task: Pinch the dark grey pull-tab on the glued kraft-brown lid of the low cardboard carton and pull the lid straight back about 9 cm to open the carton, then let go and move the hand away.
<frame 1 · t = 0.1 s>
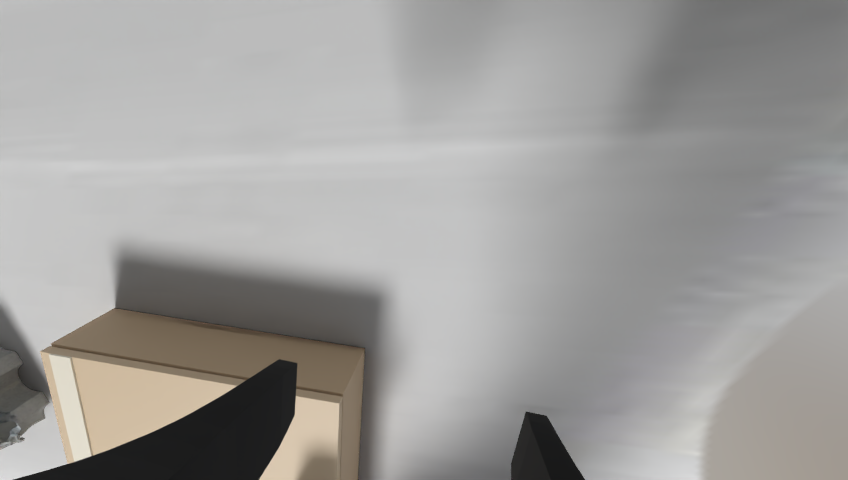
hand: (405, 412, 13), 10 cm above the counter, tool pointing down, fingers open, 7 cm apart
carton: (242, 426, 27), on the counter
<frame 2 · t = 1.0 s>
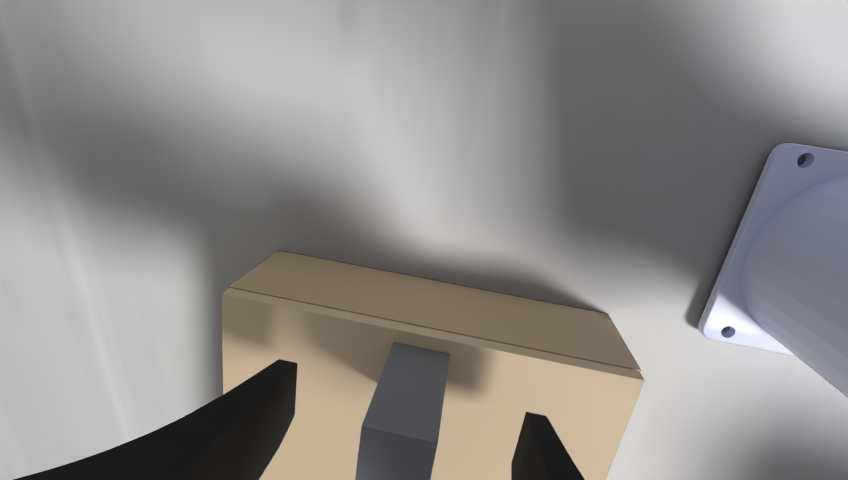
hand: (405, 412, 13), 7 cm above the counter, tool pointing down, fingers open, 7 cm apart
carton: (413, 421, 21), on the counter
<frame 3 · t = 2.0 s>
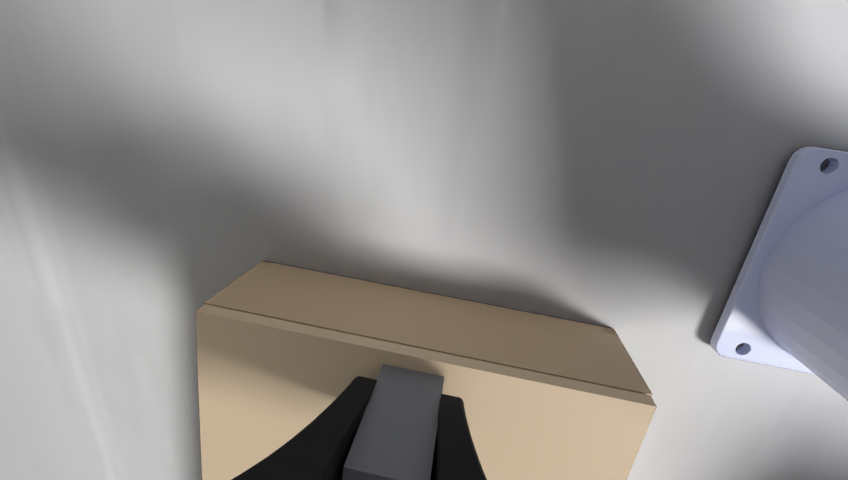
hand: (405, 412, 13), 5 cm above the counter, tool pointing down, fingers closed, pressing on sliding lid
carton: (407, 441, 20), on the counter
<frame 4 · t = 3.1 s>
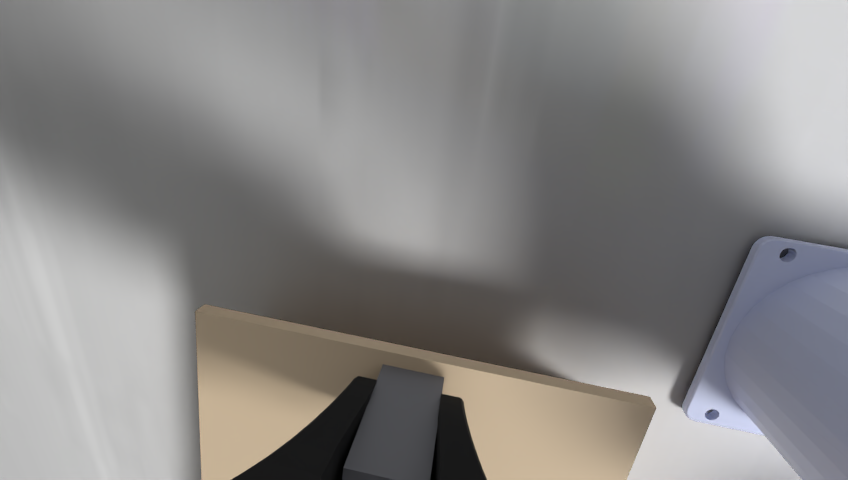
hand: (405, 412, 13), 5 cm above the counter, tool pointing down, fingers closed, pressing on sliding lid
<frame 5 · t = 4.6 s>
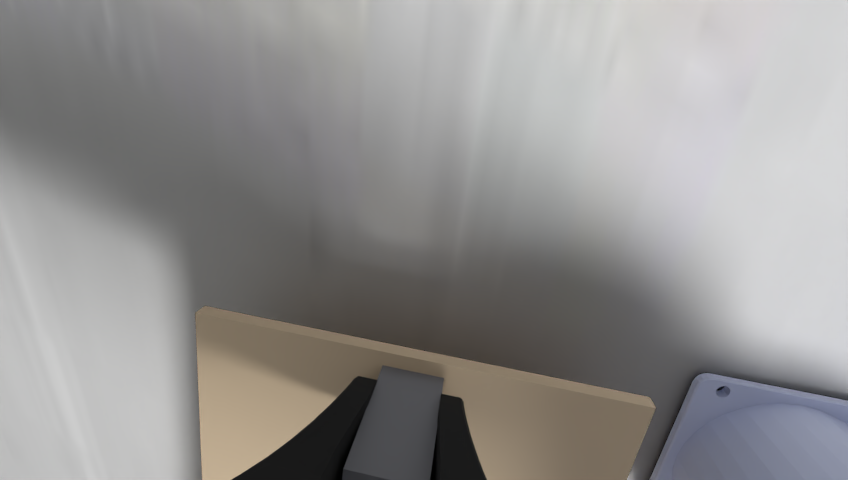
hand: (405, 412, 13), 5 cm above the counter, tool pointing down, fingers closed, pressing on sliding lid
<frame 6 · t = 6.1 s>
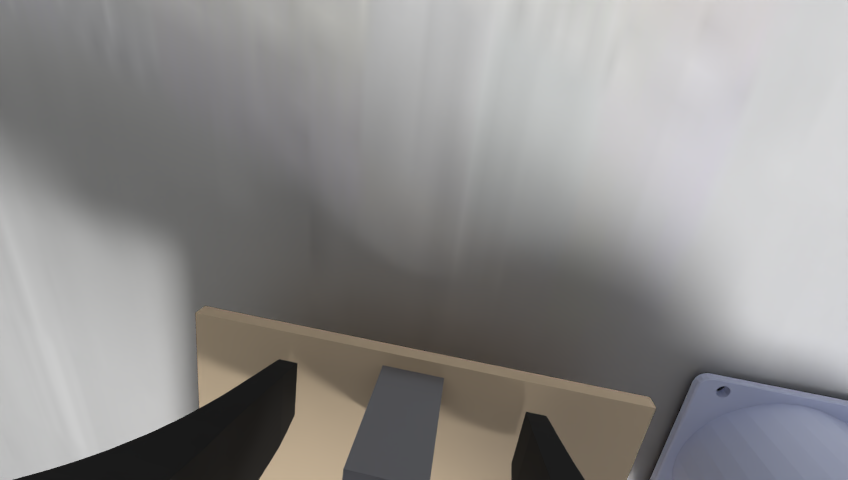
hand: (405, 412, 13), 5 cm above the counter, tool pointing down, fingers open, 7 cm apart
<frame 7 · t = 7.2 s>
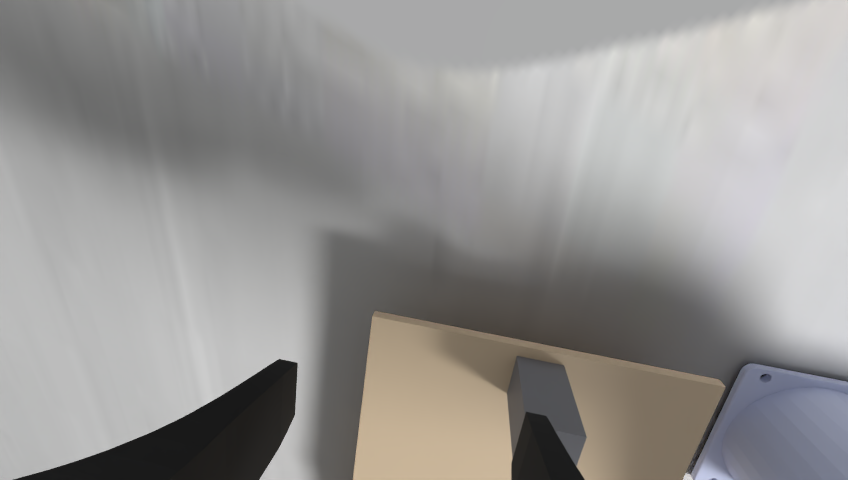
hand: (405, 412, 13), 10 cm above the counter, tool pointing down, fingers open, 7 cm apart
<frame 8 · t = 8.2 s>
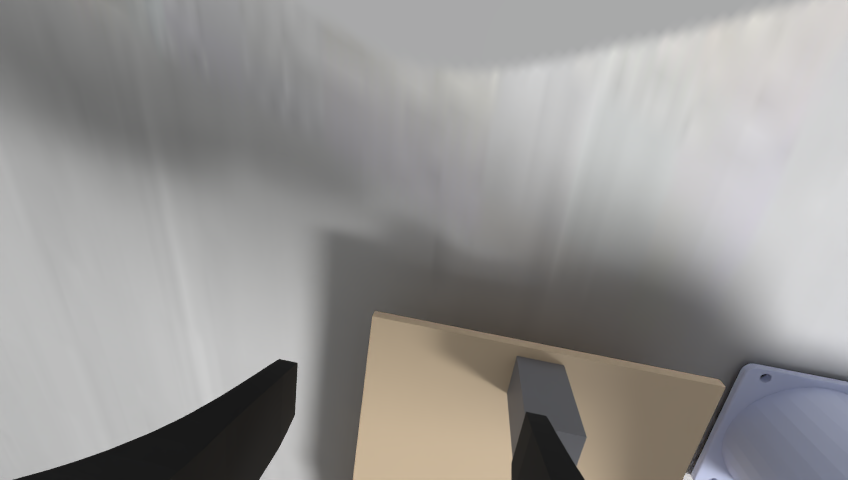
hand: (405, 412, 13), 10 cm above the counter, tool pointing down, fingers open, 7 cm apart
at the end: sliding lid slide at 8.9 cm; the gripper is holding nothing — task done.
